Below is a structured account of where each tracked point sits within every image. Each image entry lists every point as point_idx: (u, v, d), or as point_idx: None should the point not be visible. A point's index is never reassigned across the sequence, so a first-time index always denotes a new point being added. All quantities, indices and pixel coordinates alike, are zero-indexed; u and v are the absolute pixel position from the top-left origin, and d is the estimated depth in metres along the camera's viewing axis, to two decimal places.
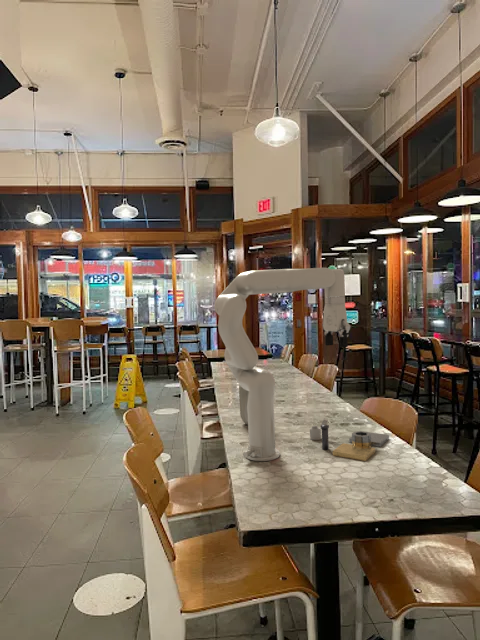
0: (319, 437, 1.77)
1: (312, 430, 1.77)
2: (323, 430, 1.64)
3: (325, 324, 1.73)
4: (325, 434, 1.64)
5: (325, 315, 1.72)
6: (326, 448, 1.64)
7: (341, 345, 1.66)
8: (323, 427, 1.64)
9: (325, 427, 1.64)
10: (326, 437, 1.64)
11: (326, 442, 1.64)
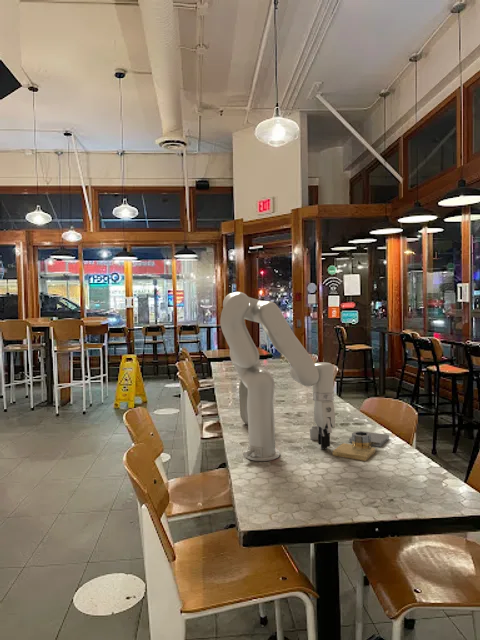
0: None
1: (312, 430, 1.77)
2: None
3: None
4: None
5: None
6: (325, 447, 1.64)
7: None
8: None
9: None
10: None
11: None
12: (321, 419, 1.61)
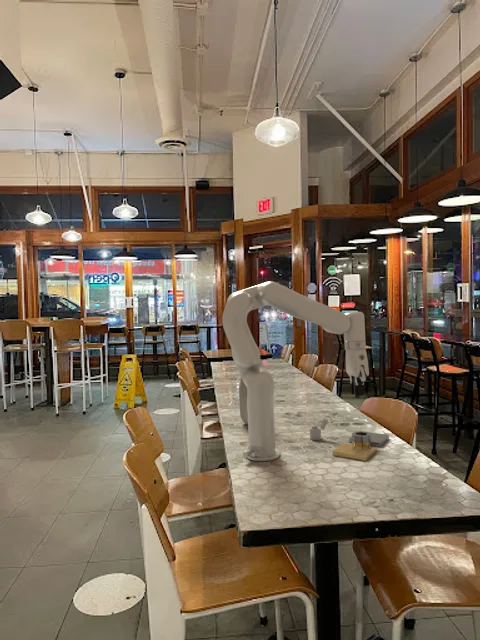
0: (319, 437, 1.77)
1: (312, 430, 1.77)
2: None
3: None
4: None
5: None
6: (358, 396, 1.64)
7: None
8: None
9: None
10: None
11: None
12: (354, 367, 1.61)
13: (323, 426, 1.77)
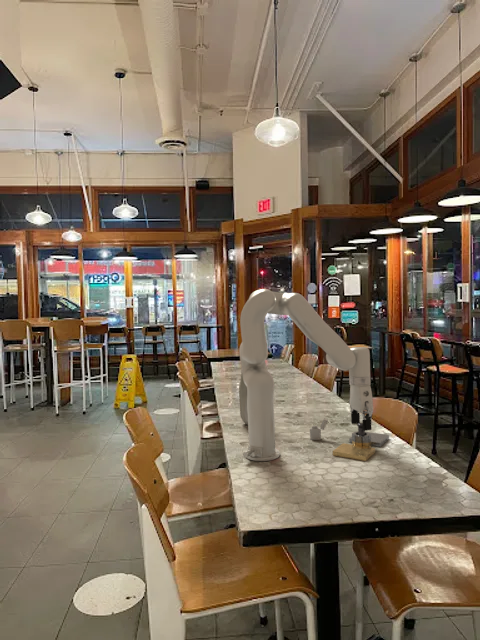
0: (319, 437, 1.77)
1: (312, 430, 1.77)
2: (360, 428, 1.65)
3: None
4: (362, 432, 1.64)
5: None
6: None
7: None
8: (360, 425, 1.64)
9: (362, 425, 1.64)
10: None
11: None
12: (359, 403, 1.61)
13: (323, 426, 1.77)
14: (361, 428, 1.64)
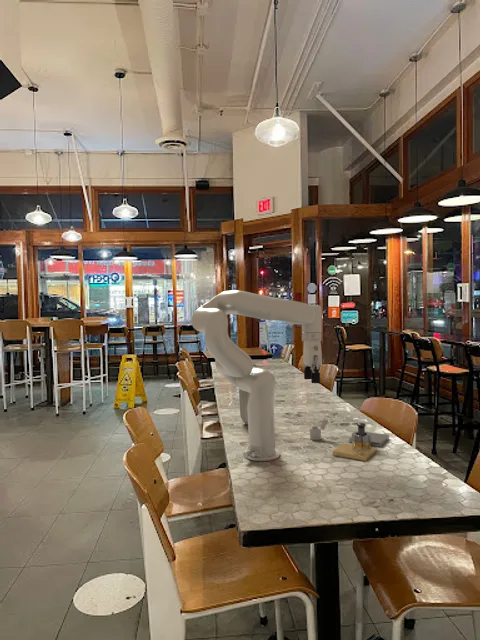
0: (319, 437, 1.77)
1: (312, 430, 1.77)
2: (360, 428, 1.65)
3: None
4: (362, 432, 1.64)
5: None
6: None
7: None
8: (360, 425, 1.64)
9: (362, 425, 1.64)
10: None
11: None
12: (308, 357, 1.68)
13: (323, 426, 1.77)
14: (361, 428, 1.64)
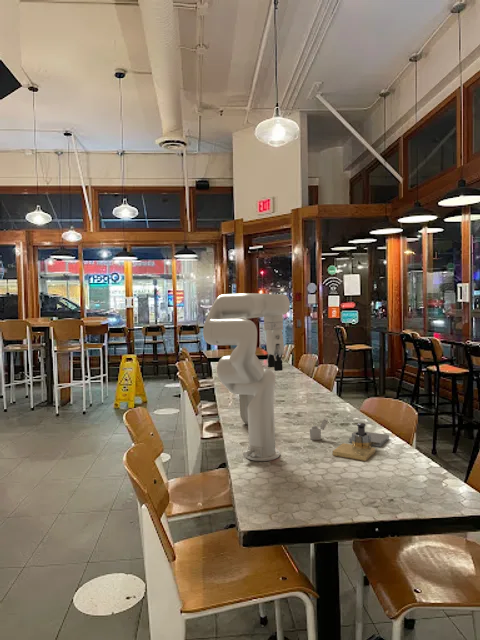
0: (319, 437, 1.77)
1: (312, 430, 1.77)
2: (360, 428, 1.65)
3: None
4: (362, 432, 1.64)
5: None
6: None
7: None
8: (360, 425, 1.64)
9: (362, 425, 1.64)
10: None
11: None
12: (271, 346, 1.75)
13: (323, 426, 1.77)
14: (361, 428, 1.64)
